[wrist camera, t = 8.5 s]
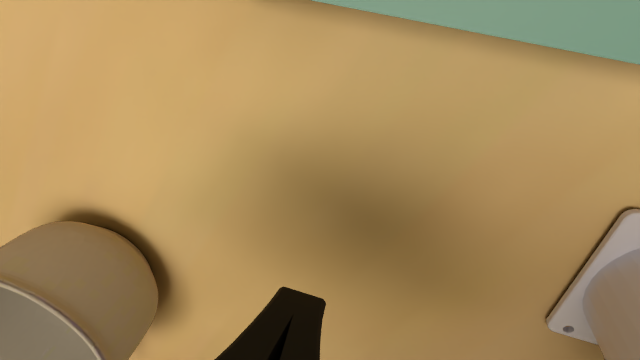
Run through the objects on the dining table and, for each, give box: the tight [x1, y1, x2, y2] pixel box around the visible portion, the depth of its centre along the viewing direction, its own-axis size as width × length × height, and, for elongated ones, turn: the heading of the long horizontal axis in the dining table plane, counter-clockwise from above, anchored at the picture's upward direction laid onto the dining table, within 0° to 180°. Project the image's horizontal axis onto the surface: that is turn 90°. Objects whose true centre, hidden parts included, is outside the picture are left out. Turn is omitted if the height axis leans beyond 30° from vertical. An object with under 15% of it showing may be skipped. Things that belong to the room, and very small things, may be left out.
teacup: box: [0, 221, 158, 360], centre depth 25 cm, size 14×11×8 cm
